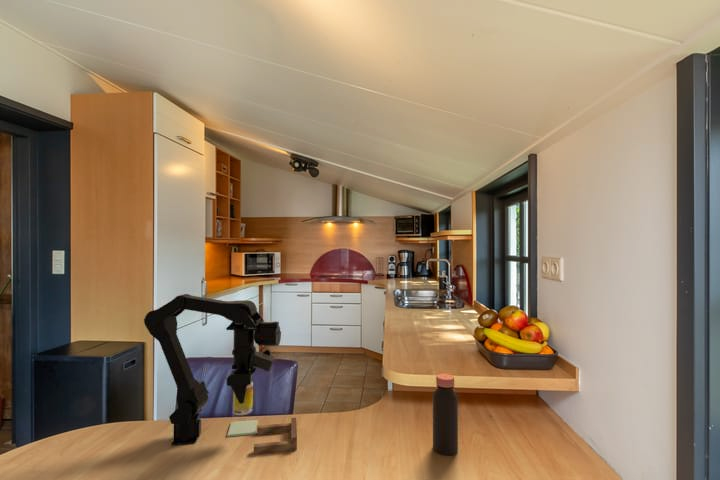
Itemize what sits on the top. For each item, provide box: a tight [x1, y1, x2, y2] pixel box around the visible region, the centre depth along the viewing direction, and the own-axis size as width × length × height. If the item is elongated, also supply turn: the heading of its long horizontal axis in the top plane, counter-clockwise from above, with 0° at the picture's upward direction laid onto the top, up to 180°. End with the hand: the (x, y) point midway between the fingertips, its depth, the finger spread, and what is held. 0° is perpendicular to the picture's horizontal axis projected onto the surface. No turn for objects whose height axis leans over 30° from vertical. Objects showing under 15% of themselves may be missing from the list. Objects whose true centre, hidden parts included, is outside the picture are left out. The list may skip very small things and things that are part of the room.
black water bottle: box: [432, 373, 459, 456], centre depth 103 cm, size 7×7×20 cm
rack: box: [253, 417, 298, 455], centre depth 107 cm, size 12×12×4 cm
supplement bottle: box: [232, 381, 254, 416], centre depth 107 cm, size 6×6×10 cm
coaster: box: [226, 419, 259, 438], centre depth 113 cm, size 8×8×1 cm
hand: (243, 399), depth 107 cm, fingers closed on supplement bottle, 5 cm apart
